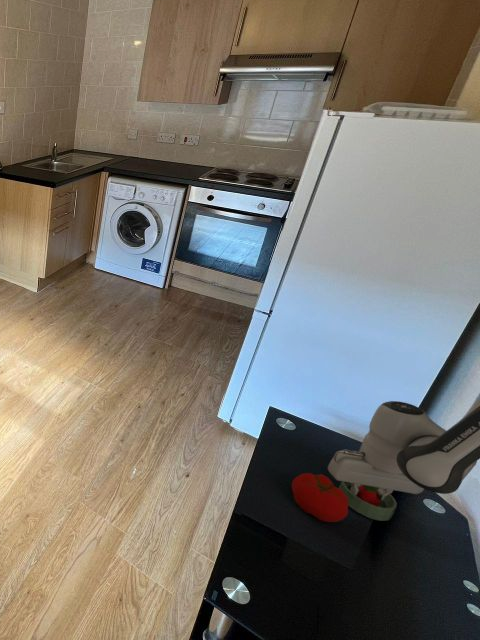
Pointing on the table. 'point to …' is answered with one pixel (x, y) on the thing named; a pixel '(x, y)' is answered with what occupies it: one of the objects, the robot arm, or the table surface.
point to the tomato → (320, 497)
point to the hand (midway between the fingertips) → (366, 495)
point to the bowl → (369, 510)
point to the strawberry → (369, 495)
